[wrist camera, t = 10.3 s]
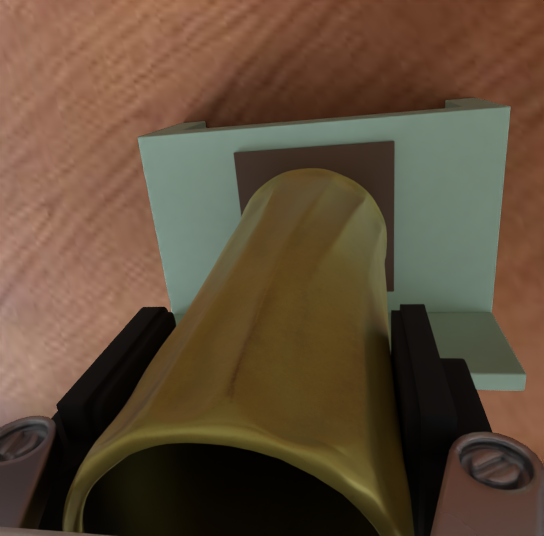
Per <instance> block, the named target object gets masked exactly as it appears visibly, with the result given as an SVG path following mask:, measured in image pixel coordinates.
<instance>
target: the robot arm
mask: <svg viewBox="0 0 544 536" xmlns="http://www.w3.org/2000/svg"><path fill="white" fill-rule="evenodd" d="M175 328H176V321H175V317H174V314H173V313H172V312H168V310H167V309H166V308H165V307H143V308H141V309H140V311H139V312H138V313H137V314H136V315H135V316H134V317H133V318H132V320H131V321H130V322H129V323H128V324H127V325H126V326H125V328H124V329H123V330H122V331H121V332H120V333H119V334H118V335H117V337H116V338H115V339H114V340H113V341H112V342H111V343H110V345H109V346H108V347H107V348H106V349H105V350H104V351H103V352H102V354H101V355H100V356H99V357H98V358H97V359H96V360H95V362H94V363H93V364H92V365H91V366H90V367H89V368H88V369H87V371H86V372H85V373H84V374H83V375H82V376H81V377H80V379H79V380H78V381H77V382H76V383H75V384H74V385H73V386H72V388H71V389H70V390H69V391H68V392H67V393H66V394H65V396H64V397H63V398H62V399H61V400H60V401H59V402H58V403H57V405H56V406H57V409H58V411H57V413H56V414H55V415H54V416H53V417H52V418H51V419H50V418H49V417H44V416H30V417H26V418H22V419H18V420H16V421H13V422H11V423H9V424H6V425H5V426H3V427H1V428H0V536H112V535H100V534H88V533H75V532H63V531H62V520H63V512H64V506H65V502H66V497H67V495H68V492H69V489H70V486H71V484H72V482H73V480H74V478H75V476H76V473H77V471H78V469H79V467H80V465H81V464H82V462H83V460H84V459H85V457H86V456H87V454H88V452H89V451H90V449H91V448H92V446H93V445H94V443H95V442H96V441H97V439H98V438H99V437H100V436H101V435H102V433H103V432H104V431H105V430H106V429H107V427H108V426H109V425H110V424H111V423H112V421H113V420H114V419H115V418H116V416H117V415H118V414H119V412H120V411H121V410H122V408H123V407H124V406H125V404H126V403H127V401H128V400H129V398H130V397H131V395H132V393H133V392H134V390H135V388H136V386H137V384H138V383H139V381H140V379H141V377H142V376H143V374H144V372H145V370H146V369H147V367H148V366H149V364H150V363H151V361H152V360H153V358H154V357H155V355H156V354H157V352H158V351H159V349H160V348H161V346H162V345H163V344H164V342H165V341H166V339H167V338H168V337H169V336H170V334H171V333H172V332H173V330H174V329H175ZM391 359H392V367H393V376H394V385H395V393H396V400H397V407H398V415H399V422H400V431H401V440H402V448H403V456H404V463H405V468H406V473H407V479H408V485H409V491H410V498H411V508H412V518H413V527H414V536H544V467H543V464H542V462H541V461H540V460H539V458H538V457H537V455H536V454H535V453H534V452H533V451H531V450H530V449H529V448H528V447H527V446H526V445H524V444H522V443H520V442H519V441H517V440H515V439H513V438H511V437H508V436H505V435H502V434H498V433H493V432H492V430H491V427H490V424H489V422H488V419H487V417H486V414H485V411H484V409H483V406H482V403H481V401H480V398H479V395H478V393H477V390H476V387H475V385H474V382H473V379H472V377H471V374H470V371H469V369H468V366H467V363H466V361H465V359H463V358H440V356H439V352H438V349H437V345H436V342H435V338H434V335H433V332H432V328H431V325H430V321H429V318H428V315H427V311H426V308H425V305H424V304H400V310H391Z"/></svg>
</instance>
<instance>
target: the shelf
mask: <svg viewBox="0 0 544 536" xmlns="http://www.w3.org/2000/svg"><path fill="white" fill-rule="evenodd" d="M510 108H511V107H510V106H506V105H502V104H498V103H494V102H490V101H486V100H482V99H478V98H464V99H453V100H446V101H445V108H443V109H431V110H419V111H407V112H395V113H383V114H371V115H359V116H347V117H335V118H323V119H312V120H300V121H288V122H276V123H264V124H252V125H240V126H228V127H216V128H206V123H205V121H199V122H188V123H180V124H177V125H174V126H171V127H168V128H164V129H161V130H158V131H155V132H152V133H149V134H146V135H143V136H139V137H138V143H139V148H140V153H141V158H142V163H143V169H144V174H145V179H146V184H147V189H148V194H149V199H150V204H151V209H152V214H153V219H154V224H155V229H156V234H157V239H158V245H159V250H160V255H161V260H162V265H163V270H164V275H165V280H166V285H167V290H168V295H169V300H170V305H171V310H172V313H173V314H174V317H175V321H176V326H177V325H178V324H179V322H180V321H181V320H182V318H183V317H184V315H185V314H186V312H187V310H188V308H189V307H190V305H191V303H192V302H193V300H194V298H195V297H196V295H197V293H198V292H199V290H200V288H201V287H202V285H203V283H204V282H205V280H206V278H207V277H208V275H209V273H210V272H211V270H212V268H213V266H214V265H215V263H216V261H217V259H218V258H219V256H220V254H221V252H222V250H223V249H224V247H225V245H226V243H227V242H228V240H229V238H230V237H231V235H232V234H233V232H234V231H235V229H236V228H237V226H238V225H239V223H240V221H241V217H242V214H243V212H244V210H245V208H246V206H247V204H248V202H249V200H250V199H251V197H252V196H253V195H254V194H255V193H256V191H257V190H258V189H259V188H261V187H262V186H263V185H264V184H265V183H267V182H268V181H269V180H271V179H272V178H274V177H276V176H278V175H280V174H282V173H285V172H288V171H291V170H297V169H306V168H318V169H326V170H330V171H333V172H335V173H338V174H341V175H343V176H345V177H348V178H349V179H351V180H353V181H355V182H356V183H358V184H359V185H360V186H362V187H363V188H364V189H365V190H366V191H367V192H368V193H369V194H370V195H371V196H372V198H373V199H374V200H375V202H376V204H377V206H378V207H379V209H380V211H381V213H382V216H383V218H384V221H385V225H386V232H387V248H386V258H385V275H386V288H387V309H388V326H389V343H390V352H391V310H400V304H424V305H425V308H426V311H427V315H428V318H429V321H430V325H431V328H432V332H433V335H434V338H435V342H436V345H437V349H438V352H439V356H440V358H463V359H465V361H466V363H467V366H468V369H469V371H470V374H471V377H472V379H473V382H474V385H475V387H476V390H512V391H523V390H524V389H525V382H526V373H525V371H524V369H523V367H522V366H521V364H520V362H519V360H518V359H517V357H516V355H515V353H514V351H513V350H512V348H511V346H510V344H509V342H508V341H507V339H506V337H505V335H504V333H503V332H502V330H501V328H500V326H499V325H498V323H497V321H496V319H495V317H494V316H493V314H492V303H493V292H494V281H495V270H496V260H497V249H498V238H499V227H500V216H501V205H502V195H503V184H504V173H505V162H506V151H507V140H508V130H509V119H510Z"/></svg>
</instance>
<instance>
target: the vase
mask: <svg viewBox="0 0 544 536" xmlns="http://www.w3.org/2000/svg"><path fill="white" fill-rule="evenodd" d="M386 248H387V232H386V225H385V221H384V218H383V216H382V213H381V211H380V209H379V207H378V206H377V204H376V202H375V200H374V199H373V198H372V196H371V195H370V194H369V193H368V192H367V191H366V190H365V189H364V188H363V187H362V186H360V185H359V184H358V183H356V182H355V181H353V180H351V179H349V178H348V177H345V176H343V175H341V174H338V173H335V172H333V171H330V170H326V169H318V168H306V169H297V170H291V171H288V172H285V173H282V174H280V175H278V176H276V177H274V178H272V179H271V180H269V181H268V182H267V183H265V184H264V185H263V186H262V187H261V188H259V189H258V190H257V191H256V193H255V194H254V195H253V196H252V197H251V199H250V200H249V202H248V204H247V206H246V208H245V210H244V212H243V214H242V217H241V221H240V223H239V225H238V226H237V228H236V229H235V231H234V232H233V234H232V235H231V237H230V238H229V240H228V242H227V243H226V245H225V247H224V249H223V250H222V252H221V254H220V256H219V258H218V259H217V261H216V263H215V265H214V266H213V268H212V270H211V272H210V273H209V275H208V277H207V278H206V280H205V282H204V283H203V285H202V287H201V288H200V290H199V292H198V293H197V295H196V297H195V298H194V300H193V302H192V303H191V305H190V307H189V308H188V310H187V312H186V314H185V315H184V317H183V318H182V320H181V321H180V322H179V324H178V325H177V326H176V328H175V329H174V330H173V332H172V333H171V334H170V336H169V337H168V338H167V339H166V341H165V342H164V344H163V345H162V346H161V348H160V349H159V351H158V352H157V354H156V355H155V357H154V358H153V360H152V361H151V363H150V364H149V366H148V367H147V369H146V370H145V372H144V374H143V376H142V377H141V379H140V381H139V383H138V384H137V386H136V388H135V390H134V392H133V393H132V395H131V397H130V398H129V400H128V401H127V403H126V404H125V406H124V407H123V408H122V410H121V411H120V412H119V414H118V415H117V416H116V418H115V419H114V420H113V421H112V423H111V424H110V425H109V426H108V427H107V429H106V430H105V431H104V432H103V433H102V435H101V436H100V437H99V438H98V439H97V441H96V442H95V443H94V445H93V446H92V448H91V449H90V451H89V452H88V454H87V456H86V457H85V459H84V460H83V462H82V464H81V465H80V467H79V469H78V471H77V473H76V476H75V478H74V480H73V482H72V484H71V486H70V489H69V492H68V495H67V497H66V502H65V506H64V512H63V520H62V531H63V532H75V533H88V534H100V535H112V536H414V527H413V518H412V508H411V498H410V491H409V485H408V479H407V473H406V468H405V463H404V456H403V448H402V440H401V431H400V422H399V415H398V407H397V400H396V393H395V385H394V376H393V367H392V359H391V352H390V343H389V326H388V309H387V288H386V275H385V258H386Z"/></svg>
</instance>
